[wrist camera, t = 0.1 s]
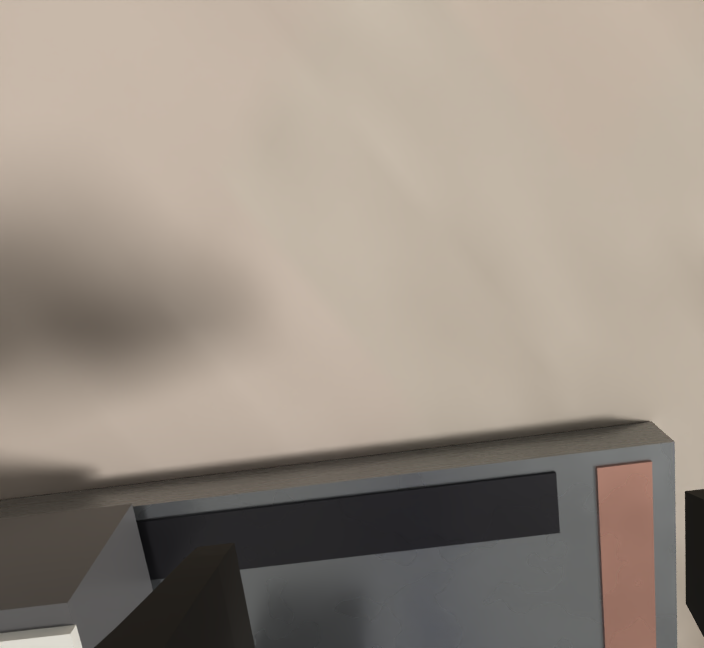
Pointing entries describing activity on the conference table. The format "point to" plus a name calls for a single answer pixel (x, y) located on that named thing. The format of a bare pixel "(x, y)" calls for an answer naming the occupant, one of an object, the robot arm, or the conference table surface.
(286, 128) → the conference table surface
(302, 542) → the panel
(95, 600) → the block
